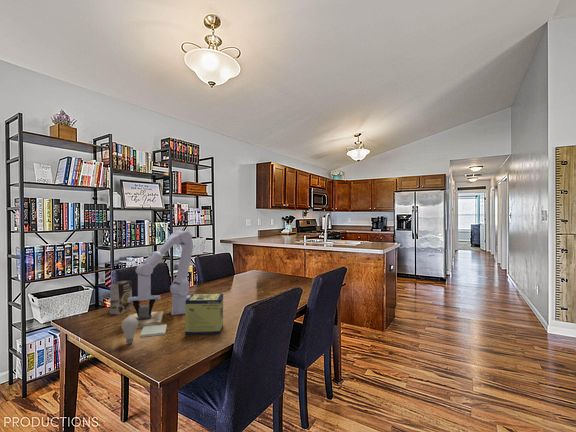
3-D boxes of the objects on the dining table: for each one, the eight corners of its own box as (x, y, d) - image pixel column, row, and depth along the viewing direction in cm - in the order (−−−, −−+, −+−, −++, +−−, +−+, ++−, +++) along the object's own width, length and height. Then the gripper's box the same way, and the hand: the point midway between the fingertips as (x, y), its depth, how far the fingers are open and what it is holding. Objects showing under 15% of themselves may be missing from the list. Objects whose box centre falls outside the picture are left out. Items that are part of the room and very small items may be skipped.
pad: (166, 326, 144) (166, 324, 144) (165, 334, 135) (165, 332, 135) (143, 328, 141) (143, 326, 141) (140, 337, 132) (140, 334, 132)
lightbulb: (125, 341, 128) (125, 314, 128) (140, 340, 128) (140, 314, 128) (118, 347, 122) (118, 319, 122) (134, 346, 122) (134, 319, 122)
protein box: (220, 334, 135) (220, 299, 135) (184, 335, 134) (184, 300, 134) (223, 325, 146) (223, 293, 146) (190, 326, 144) (190, 293, 144)
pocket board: (163, 314, 160) (163, 311, 160) (160, 325, 145) (160, 321, 145) (129, 317, 156) (129, 314, 156) (122, 329, 140) (122, 325, 140)
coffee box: (120, 315, 160) (120, 284, 160) (109, 314, 161) (109, 283, 161) (132, 309, 169) (132, 280, 169) (122, 308, 170) (122, 279, 170)
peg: (149, 319, 153) (149, 304, 153) (148, 322, 149) (148, 307, 149) (140, 320, 152) (140, 305, 152) (138, 323, 148) (138, 308, 148)
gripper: (126, 291, 144) (126, 319, 144) (159, 288, 149) (159, 316, 149) (129, 287, 151) (129, 314, 151) (160, 285, 155) (160, 312, 156)
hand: (144, 315), depth 150 cm, fingers closed on peg, 4 cm apart
